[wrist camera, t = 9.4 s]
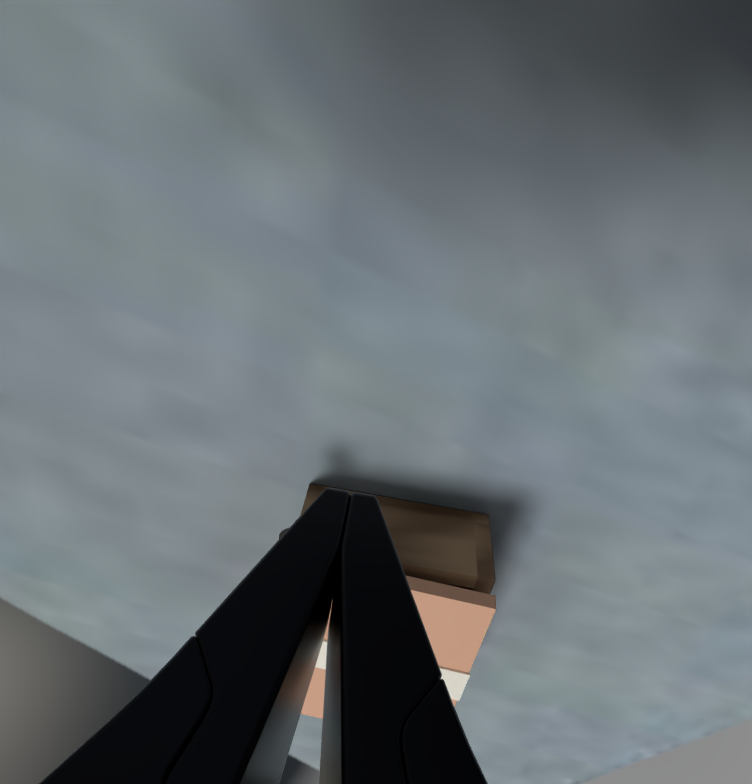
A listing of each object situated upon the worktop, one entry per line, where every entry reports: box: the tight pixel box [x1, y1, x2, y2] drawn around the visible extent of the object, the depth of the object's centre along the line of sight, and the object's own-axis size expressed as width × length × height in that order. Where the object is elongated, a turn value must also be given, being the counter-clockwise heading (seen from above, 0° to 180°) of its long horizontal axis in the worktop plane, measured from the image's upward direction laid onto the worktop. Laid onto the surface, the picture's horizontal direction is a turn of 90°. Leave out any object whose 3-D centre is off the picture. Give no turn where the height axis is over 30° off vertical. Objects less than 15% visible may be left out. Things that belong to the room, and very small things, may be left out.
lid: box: [301, 576, 496, 719], centre depth 24 cm, size 8×11×1 cm
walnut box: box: [279, 484, 496, 594], centre depth 26 cm, size 8×13×4 cm, turn 172°
